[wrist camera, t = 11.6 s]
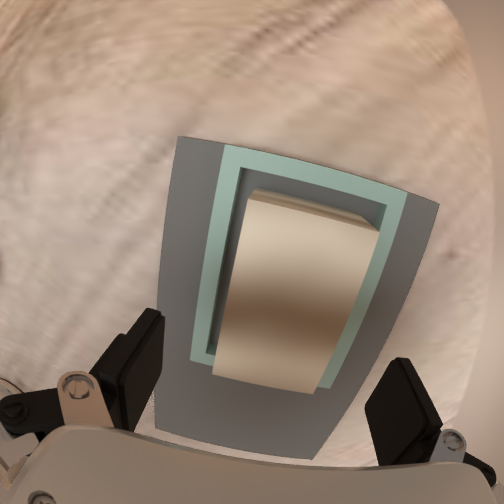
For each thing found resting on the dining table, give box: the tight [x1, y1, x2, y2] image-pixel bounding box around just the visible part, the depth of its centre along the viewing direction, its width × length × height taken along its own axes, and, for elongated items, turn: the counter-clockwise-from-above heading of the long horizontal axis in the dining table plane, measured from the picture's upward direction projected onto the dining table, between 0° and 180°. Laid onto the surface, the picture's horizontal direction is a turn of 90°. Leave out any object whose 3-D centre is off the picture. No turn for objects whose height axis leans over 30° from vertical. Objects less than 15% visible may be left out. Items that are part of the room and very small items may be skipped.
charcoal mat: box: [154, 136, 440, 460], centre depth 20 cm, size 26×16×1 cm, turn 168°
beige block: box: [212, 188, 380, 394], centre depth 16 cm, size 10×6×4 cm, turn 168°
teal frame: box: [190, 144, 408, 389], centre depth 17 cm, size 14×10×1 cm
